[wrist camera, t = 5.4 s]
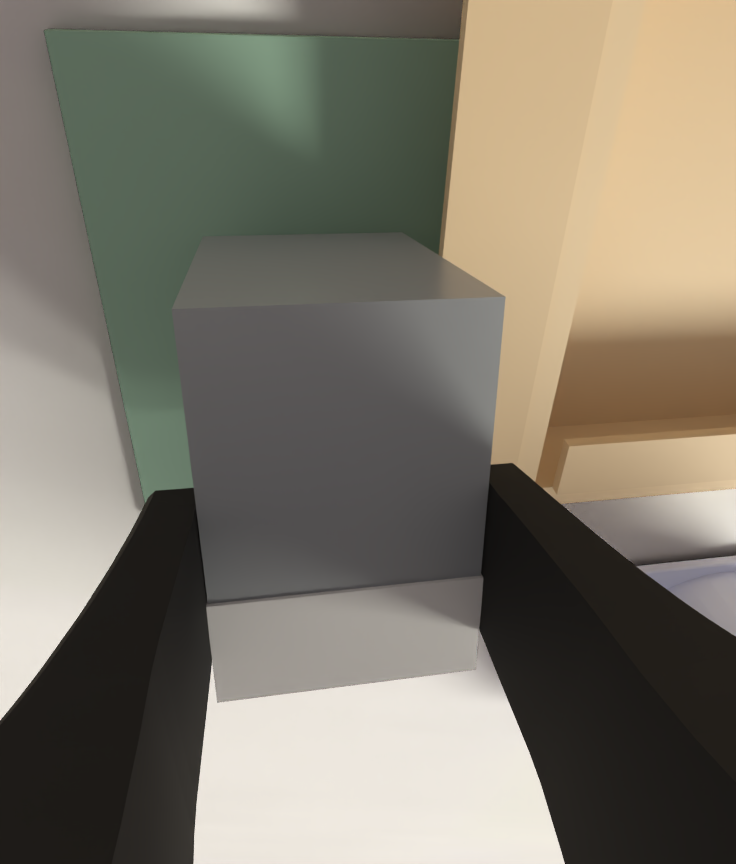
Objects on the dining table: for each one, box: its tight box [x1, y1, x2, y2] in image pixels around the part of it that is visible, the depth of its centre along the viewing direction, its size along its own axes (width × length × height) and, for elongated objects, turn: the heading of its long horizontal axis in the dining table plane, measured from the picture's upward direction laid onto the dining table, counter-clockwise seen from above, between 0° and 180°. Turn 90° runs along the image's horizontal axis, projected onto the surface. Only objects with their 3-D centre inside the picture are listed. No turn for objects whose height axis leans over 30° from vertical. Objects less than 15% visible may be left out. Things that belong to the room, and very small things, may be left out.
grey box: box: [172, 232, 506, 703], centre depth 12 cm, size 6×4×6 cm
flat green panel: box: [44, 29, 459, 503], centre depth 16 cm, size 12×9×1 cm
